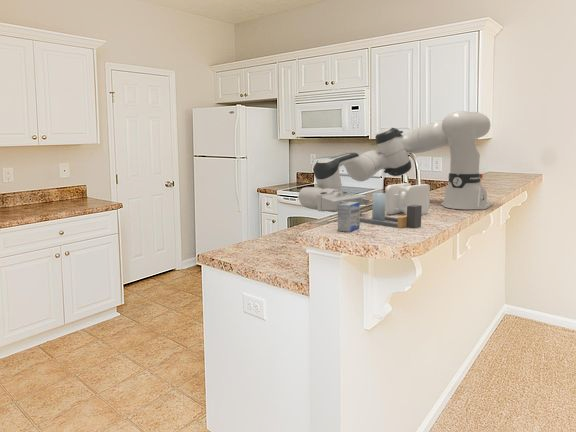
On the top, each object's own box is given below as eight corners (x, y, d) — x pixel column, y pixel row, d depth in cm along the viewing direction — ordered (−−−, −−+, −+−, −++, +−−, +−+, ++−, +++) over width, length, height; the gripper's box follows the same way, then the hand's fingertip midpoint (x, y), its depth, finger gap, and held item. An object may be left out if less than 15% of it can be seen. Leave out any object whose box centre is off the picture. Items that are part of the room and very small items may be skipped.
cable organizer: (406, 218, 169) (407, 186, 167) (383, 215, 177) (384, 184, 175) (429, 213, 179) (430, 183, 177) (406, 210, 187) (407, 182, 185)
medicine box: (349, 232, 146) (350, 205, 144) (337, 231, 148) (337, 204, 147) (359, 228, 152) (360, 202, 151) (347, 226, 155) (347, 201, 153)
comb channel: (375, 218, 170) (375, 199, 169) (425, 225, 156) (426, 204, 155) (358, 221, 163) (358, 202, 162) (409, 229, 149) (410, 207, 148)
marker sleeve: (376, 220, 166) (377, 192, 165) (387, 221, 163) (387, 193, 162) (369, 221, 163) (370, 193, 162) (380, 223, 160) (380, 194, 159)
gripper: (349, 205, 184) (378, 209, 175) (314, 211, 170) (344, 215, 161) (349, 189, 183) (378, 192, 174) (314, 194, 169) (344, 197, 159)
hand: (361, 203), depth 167 cm, fingers open, 8 cm apart
